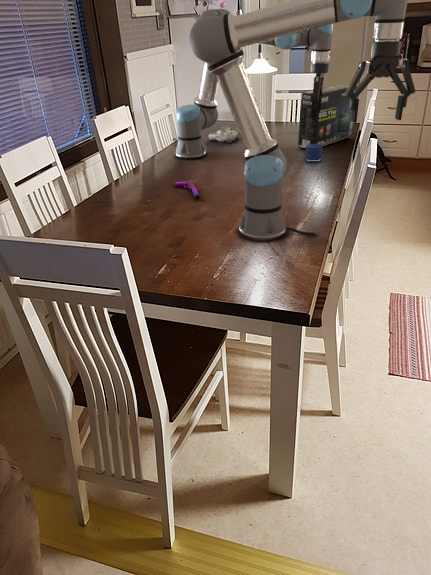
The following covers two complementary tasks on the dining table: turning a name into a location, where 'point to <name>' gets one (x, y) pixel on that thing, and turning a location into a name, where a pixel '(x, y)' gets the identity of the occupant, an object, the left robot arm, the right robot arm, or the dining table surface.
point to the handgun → (189, 185)
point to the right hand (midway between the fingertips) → (375, 120)
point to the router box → (325, 117)
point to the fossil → (225, 134)
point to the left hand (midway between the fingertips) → (315, 114)
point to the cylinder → (313, 153)
